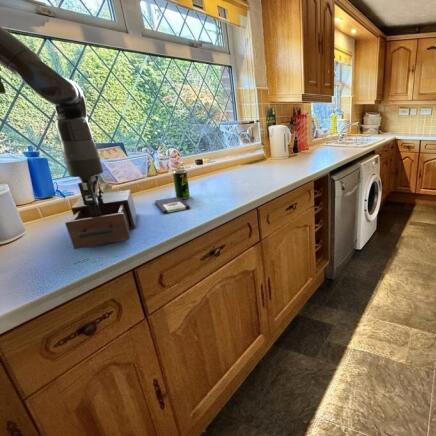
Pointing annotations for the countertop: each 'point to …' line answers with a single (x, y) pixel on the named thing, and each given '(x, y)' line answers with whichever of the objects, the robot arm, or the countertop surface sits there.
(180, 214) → the countertop surface
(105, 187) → the chocolate bunny
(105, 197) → the cabinet
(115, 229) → the drawer
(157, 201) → the chocolate bar
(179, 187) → the beer can
